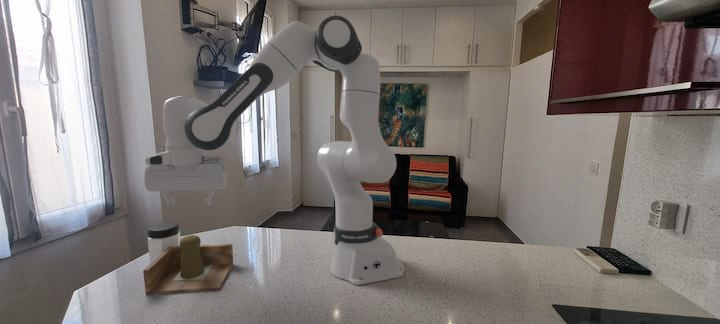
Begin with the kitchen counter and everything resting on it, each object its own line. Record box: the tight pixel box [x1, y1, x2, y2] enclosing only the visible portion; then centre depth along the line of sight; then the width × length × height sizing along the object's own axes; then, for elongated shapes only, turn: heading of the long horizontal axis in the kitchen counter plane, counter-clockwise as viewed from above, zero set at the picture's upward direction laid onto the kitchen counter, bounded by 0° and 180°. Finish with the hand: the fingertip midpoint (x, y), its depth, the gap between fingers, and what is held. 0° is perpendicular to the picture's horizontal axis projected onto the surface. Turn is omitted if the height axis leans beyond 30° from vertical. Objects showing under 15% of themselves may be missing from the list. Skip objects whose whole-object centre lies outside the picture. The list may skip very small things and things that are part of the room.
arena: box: [142, 243, 234, 296], centre depth 85 cm, size 18×14×7 cm
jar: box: [147, 220, 182, 265], centre depth 94 cm, size 9×8×12 cm
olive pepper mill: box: [179, 234, 204, 279], centre depth 85 cm, size 6×6×11 cm
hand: (189, 205), depth 84 cm, fingers open, 8 cm apart
